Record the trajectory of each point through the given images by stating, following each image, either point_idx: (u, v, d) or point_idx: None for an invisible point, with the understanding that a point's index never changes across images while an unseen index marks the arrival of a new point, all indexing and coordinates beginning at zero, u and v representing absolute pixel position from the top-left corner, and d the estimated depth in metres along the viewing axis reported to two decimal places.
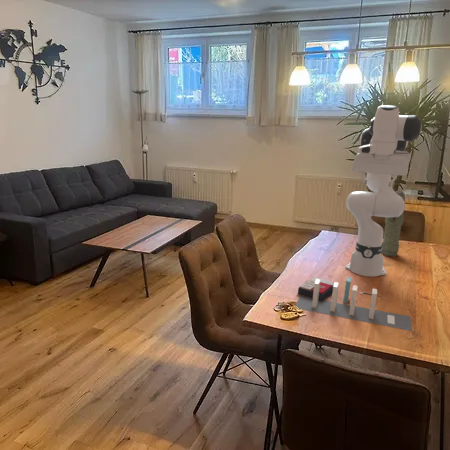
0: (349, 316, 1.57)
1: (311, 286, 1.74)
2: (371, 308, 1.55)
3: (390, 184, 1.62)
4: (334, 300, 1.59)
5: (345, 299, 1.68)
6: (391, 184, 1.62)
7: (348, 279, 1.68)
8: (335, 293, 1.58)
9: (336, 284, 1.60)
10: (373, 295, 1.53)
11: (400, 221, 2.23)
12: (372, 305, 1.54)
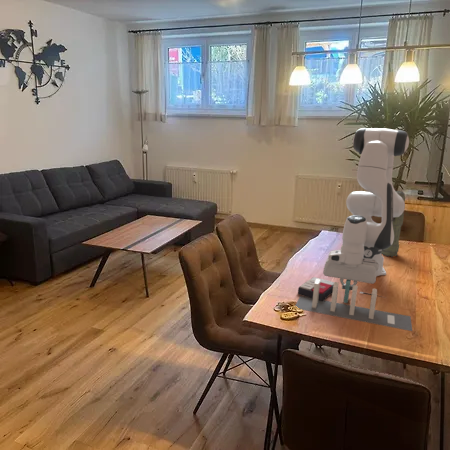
0: (349, 316, 1.57)
1: (311, 286, 1.74)
2: (371, 308, 1.55)
3: (351, 288, 1.68)
4: (334, 300, 1.59)
5: (345, 299, 1.68)
6: (352, 288, 1.67)
7: None
8: (335, 293, 1.58)
9: (336, 284, 1.60)
10: (373, 295, 1.53)
11: (400, 221, 2.23)
12: (372, 305, 1.54)
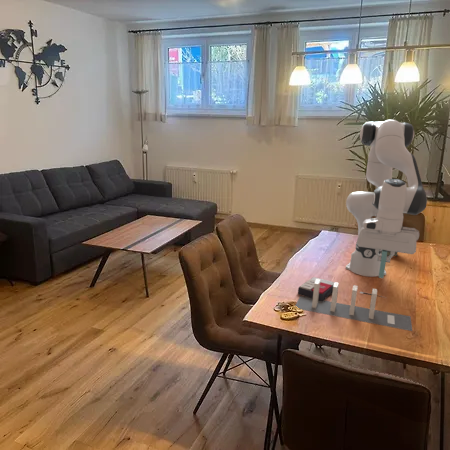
0: (349, 316, 1.57)
1: (311, 286, 1.74)
2: (371, 308, 1.55)
3: (387, 260, 1.53)
4: (334, 300, 1.59)
5: (381, 272, 1.53)
6: (389, 260, 1.53)
7: (384, 250, 1.53)
8: (335, 293, 1.58)
9: (336, 284, 1.60)
10: (373, 295, 1.53)
11: None
12: (372, 305, 1.54)
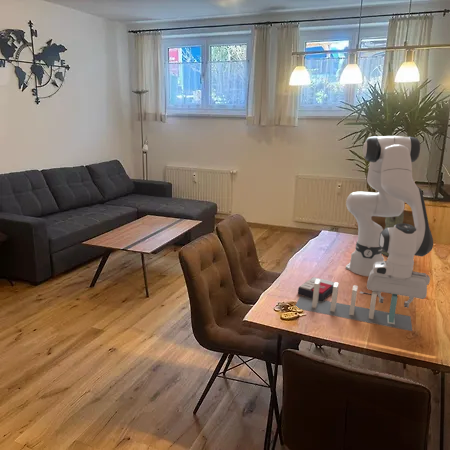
0: (349, 316, 1.57)
1: (311, 286, 1.74)
2: (371, 308, 1.55)
3: (406, 305, 1.52)
4: (334, 300, 1.59)
5: (391, 316, 1.53)
6: (407, 305, 1.52)
7: (394, 294, 1.53)
8: (335, 293, 1.58)
9: (336, 284, 1.60)
10: (373, 295, 1.53)
11: (400, 221, 2.23)
12: (372, 305, 1.54)
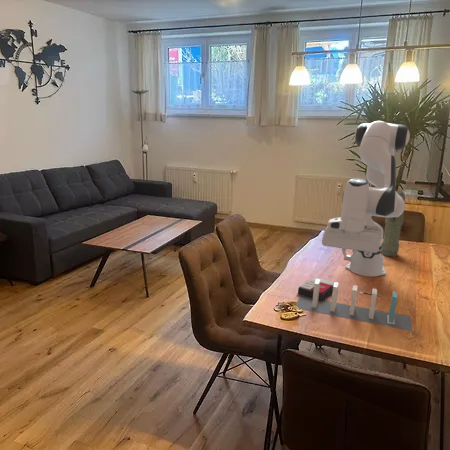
0: (349, 316, 1.57)
1: (311, 286, 1.74)
2: (371, 308, 1.55)
3: (350, 259, 1.55)
4: (334, 300, 1.59)
5: (391, 316, 1.53)
6: (351, 259, 1.54)
7: (394, 294, 1.53)
8: (335, 293, 1.58)
9: (336, 284, 1.60)
10: (373, 295, 1.53)
11: (400, 221, 2.23)
12: (372, 305, 1.54)
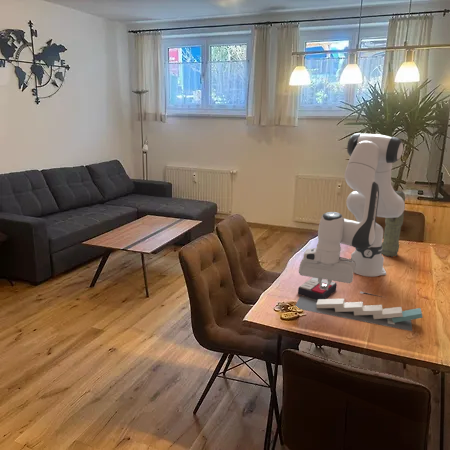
0: (349, 316, 1.57)
1: (311, 286, 1.74)
2: (384, 315, 1.54)
3: (325, 288, 1.61)
4: (347, 310, 1.58)
5: (399, 319, 1.52)
6: (326, 288, 1.61)
7: (421, 312, 1.51)
8: (355, 310, 1.57)
9: (362, 306, 1.58)
10: (400, 314, 1.52)
11: (400, 221, 2.23)
12: (388, 315, 1.53)
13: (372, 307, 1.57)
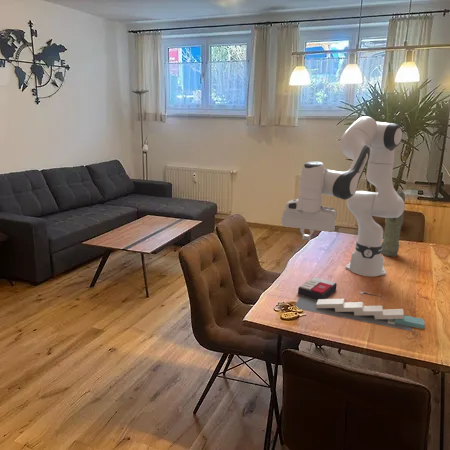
0: (349, 316, 1.57)
1: (311, 286, 1.74)
2: (386, 316, 1.53)
3: (307, 238, 1.62)
4: (347, 310, 1.58)
5: (401, 322, 1.52)
6: (308, 238, 1.62)
7: None
8: (355, 310, 1.57)
9: (362, 306, 1.58)
10: (401, 316, 1.52)
11: (400, 221, 2.23)
12: (389, 316, 1.53)
13: (372, 308, 1.57)
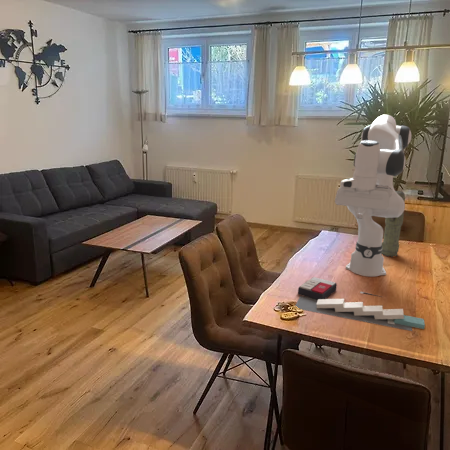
0: (349, 316, 1.57)
1: (311, 286, 1.74)
2: (386, 316, 1.53)
3: (361, 216, 1.64)
4: (347, 310, 1.58)
5: (401, 322, 1.52)
6: (362, 216, 1.64)
7: None
8: (355, 310, 1.57)
9: (362, 306, 1.58)
10: (401, 316, 1.52)
11: (400, 221, 2.23)
12: (389, 316, 1.53)
13: (372, 308, 1.57)
